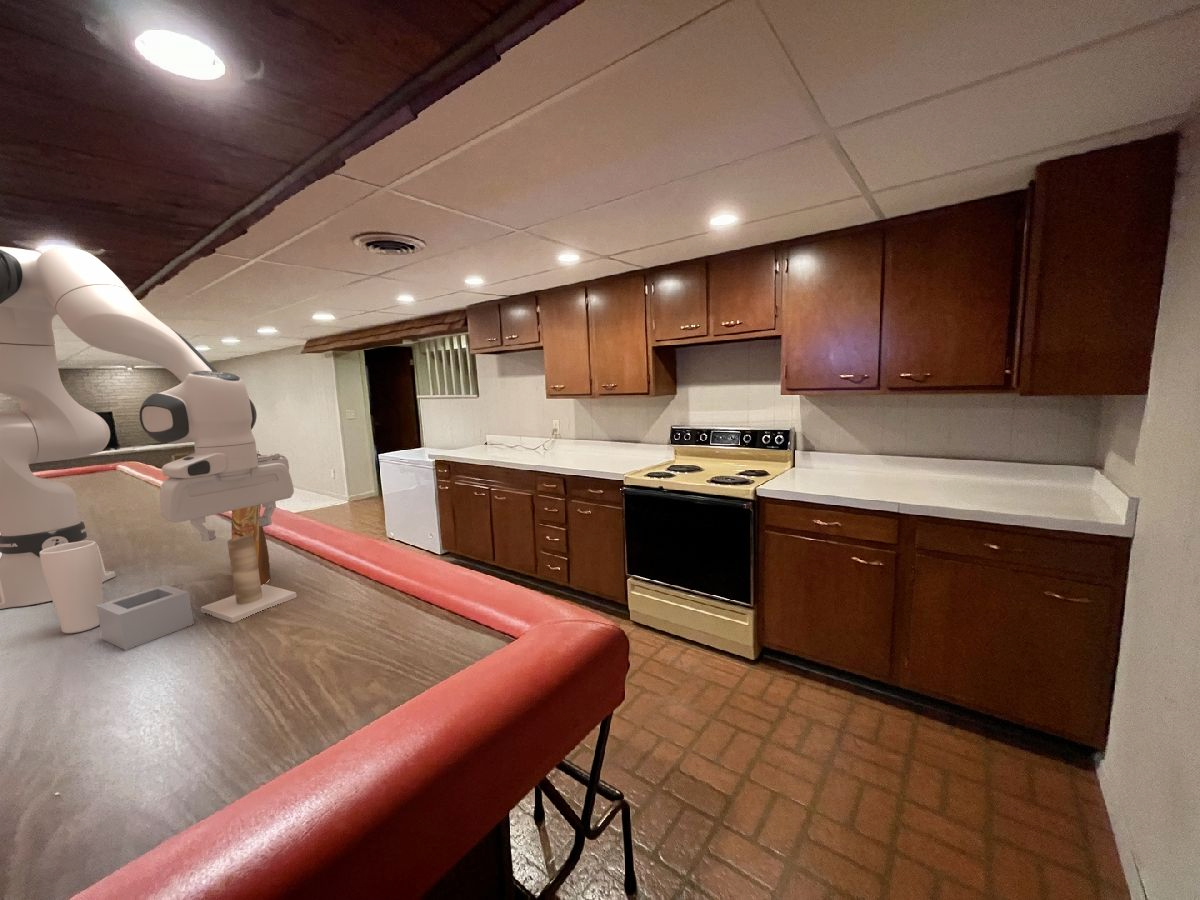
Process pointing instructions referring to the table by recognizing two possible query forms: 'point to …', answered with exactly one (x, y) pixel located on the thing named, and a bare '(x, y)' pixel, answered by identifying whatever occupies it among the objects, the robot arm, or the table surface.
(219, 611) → the square mat
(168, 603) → the grey square frame
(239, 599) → the birch pin
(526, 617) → the table surface
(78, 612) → the drinking glass
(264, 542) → the pancake mix bag
